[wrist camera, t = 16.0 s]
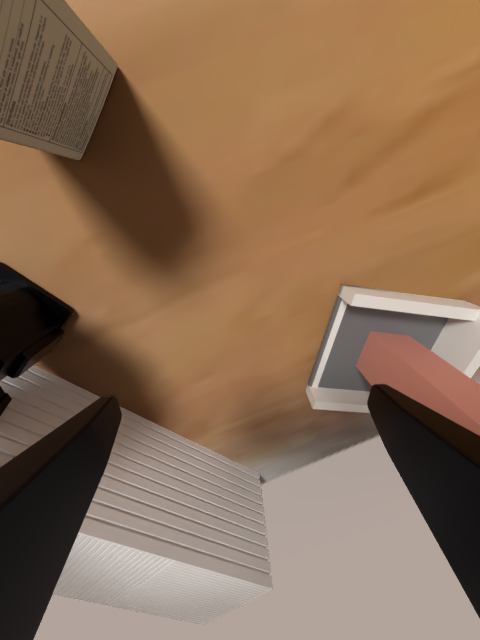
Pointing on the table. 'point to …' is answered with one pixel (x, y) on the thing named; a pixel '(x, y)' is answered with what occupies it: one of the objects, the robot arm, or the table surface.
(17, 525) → the robot arm
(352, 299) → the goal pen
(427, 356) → the foosball player
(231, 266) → the table surface
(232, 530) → the ridged white long block
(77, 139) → the skincare box
